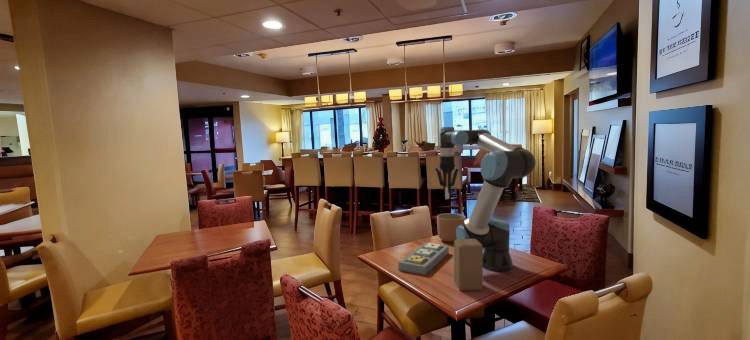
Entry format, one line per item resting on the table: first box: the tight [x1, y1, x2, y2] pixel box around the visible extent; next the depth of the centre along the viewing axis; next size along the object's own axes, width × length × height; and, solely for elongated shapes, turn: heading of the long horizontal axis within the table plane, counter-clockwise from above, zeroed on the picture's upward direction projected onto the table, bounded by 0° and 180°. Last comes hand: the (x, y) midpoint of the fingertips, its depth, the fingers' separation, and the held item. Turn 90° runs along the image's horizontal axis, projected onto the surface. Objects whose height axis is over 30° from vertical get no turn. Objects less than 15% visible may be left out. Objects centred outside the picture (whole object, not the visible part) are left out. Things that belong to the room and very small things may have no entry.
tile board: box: [398, 242, 449, 276], centre depth 188 cm, size 14×34×4 cm, turn 150°
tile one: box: [424, 242, 442, 251], centre depth 197 cm, size 7×7×4 cm
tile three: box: [407, 255, 426, 265], centre depth 178 cm, size 7×7×4 cm
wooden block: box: [453, 239, 484, 292], centre depth 156 cm, size 10×10×20 cm
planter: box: [436, 212, 466, 244], centre depth 221 cm, size 17×17×15 cm
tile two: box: [416, 249, 434, 258], centre depth 187 cm, size 7×7×4 cm
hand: (447, 198), depth 197 cm, fingers closed
